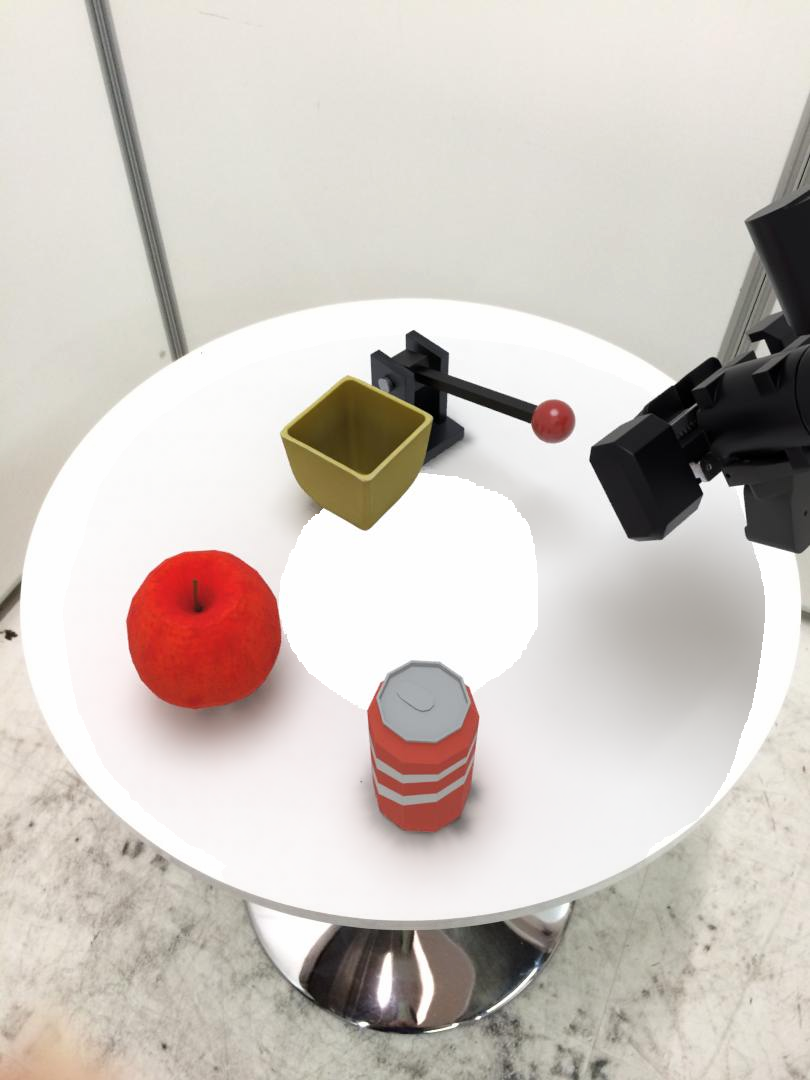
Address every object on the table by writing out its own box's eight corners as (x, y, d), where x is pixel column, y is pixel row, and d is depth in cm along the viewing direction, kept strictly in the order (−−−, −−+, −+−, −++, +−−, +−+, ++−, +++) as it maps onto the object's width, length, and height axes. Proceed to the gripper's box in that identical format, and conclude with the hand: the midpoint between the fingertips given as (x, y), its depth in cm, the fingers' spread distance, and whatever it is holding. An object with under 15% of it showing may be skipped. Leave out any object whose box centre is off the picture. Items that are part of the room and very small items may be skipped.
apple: (186, 771, 58) (142, 677, 49) (130, 665, 63) (82, 562, 54) (315, 699, 62) (298, 598, 52) (252, 604, 67) (227, 497, 58)
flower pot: (434, 493, 74) (436, 415, 67) (372, 558, 70) (367, 481, 63) (353, 451, 78) (347, 372, 71) (289, 511, 73) (276, 432, 66)
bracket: (464, 437, 79) (469, 360, 72) (416, 469, 76) (416, 392, 69) (404, 395, 82) (403, 317, 76) (356, 424, 80) (351, 346, 73)
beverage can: (413, 729, 60) (413, 633, 51) (487, 785, 57) (502, 694, 48) (354, 794, 57) (343, 704, 48) (430, 856, 54) (434, 773, 45)
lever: (586, 435, 64) (583, 398, 62) (557, 456, 62) (553, 418, 61) (416, 374, 77) (409, 341, 75) (389, 391, 75) (381, 358, 73)
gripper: (793, 624, 43) (585, 616, 57) (965, 444, 51) (746, 475, 65) (700, 427, 41) (507, 468, 54) (897, 270, 49) (685, 340, 62)
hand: (622, 440), depth 59 cm, fingers closed
